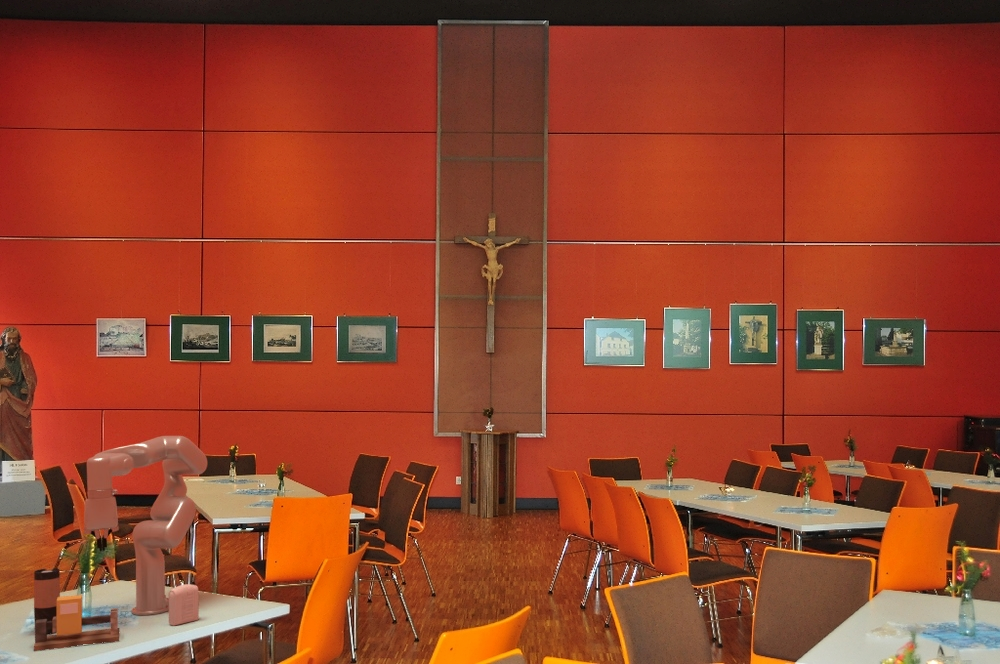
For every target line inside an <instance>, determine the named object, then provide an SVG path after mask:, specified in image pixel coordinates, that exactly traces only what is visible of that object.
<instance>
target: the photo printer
mask: <svg viewBox="0 0 1000 664" xmlns="http://www.w3.org/2000/svg"><path fill="white" fill-rule="evenodd" d="M168 598H169V610H168V624H169V625H170V626H177V625H182V624H186V623H190V622H193V621H198V620H199V614H200V613H199V612H200V611H199V609H200V608H199V605H200V604H199V599H200V598H199V587H198V586H197V585H196V584H190V583H189V584H181V585H178V586H176V587H174V588H172V589H171V590H169V592H168Z"/></svg>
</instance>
